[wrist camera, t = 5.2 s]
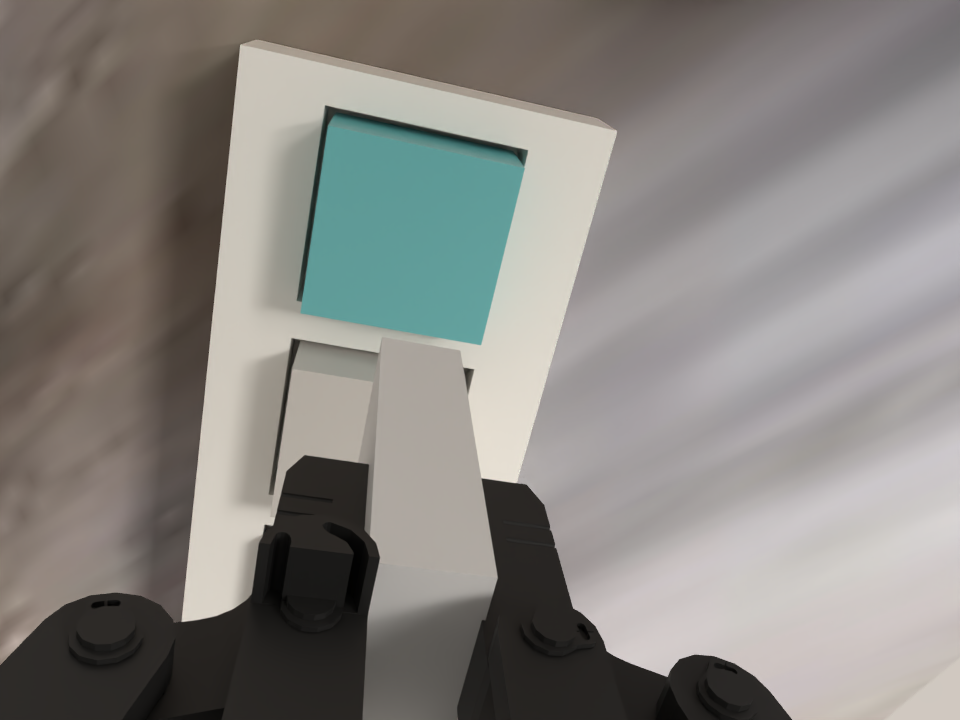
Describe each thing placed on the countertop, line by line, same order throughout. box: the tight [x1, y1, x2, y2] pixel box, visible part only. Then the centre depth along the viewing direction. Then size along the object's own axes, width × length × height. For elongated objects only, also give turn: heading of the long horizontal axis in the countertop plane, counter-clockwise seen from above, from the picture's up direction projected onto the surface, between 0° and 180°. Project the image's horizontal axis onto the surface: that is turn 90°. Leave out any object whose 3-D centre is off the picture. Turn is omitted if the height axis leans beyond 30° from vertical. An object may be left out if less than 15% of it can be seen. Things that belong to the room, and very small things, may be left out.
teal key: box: [300, 112, 525, 345], centre depth 27 cm, size 6×6×3 cm
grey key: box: [270, 340, 468, 518], centre depth 30 cm, size 6×6×3 cm
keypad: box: [182, 40, 617, 622], centre depth 31 cm, size 12×25×3 cm, turn 167°
